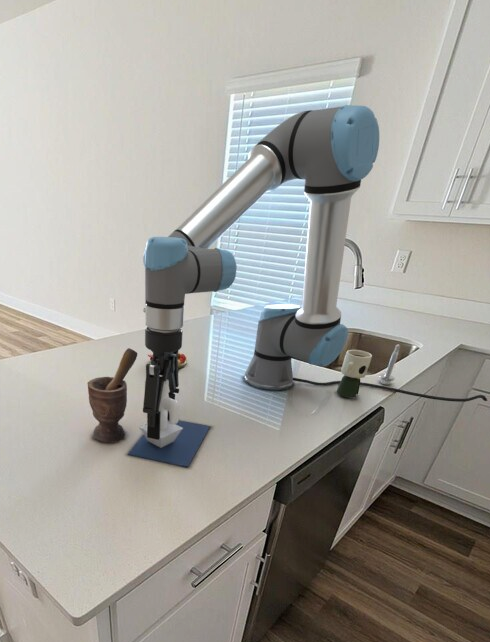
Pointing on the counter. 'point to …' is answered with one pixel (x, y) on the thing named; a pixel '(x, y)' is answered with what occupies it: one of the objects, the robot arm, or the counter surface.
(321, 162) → the robot arm
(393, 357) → the screw
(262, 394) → the counter surface
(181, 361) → the toy food set
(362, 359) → the character mug
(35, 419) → the counter surface
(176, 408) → the figurine
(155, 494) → the counter surface
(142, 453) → the felt mat
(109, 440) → the mortar and pestle
